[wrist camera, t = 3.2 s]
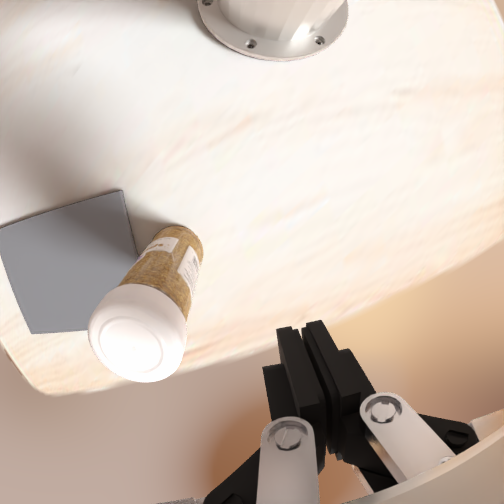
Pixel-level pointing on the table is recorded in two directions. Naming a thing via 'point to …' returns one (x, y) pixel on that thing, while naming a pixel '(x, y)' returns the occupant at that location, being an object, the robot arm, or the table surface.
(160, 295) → the sprinkles bottle
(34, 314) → the mat
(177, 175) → the table surface
